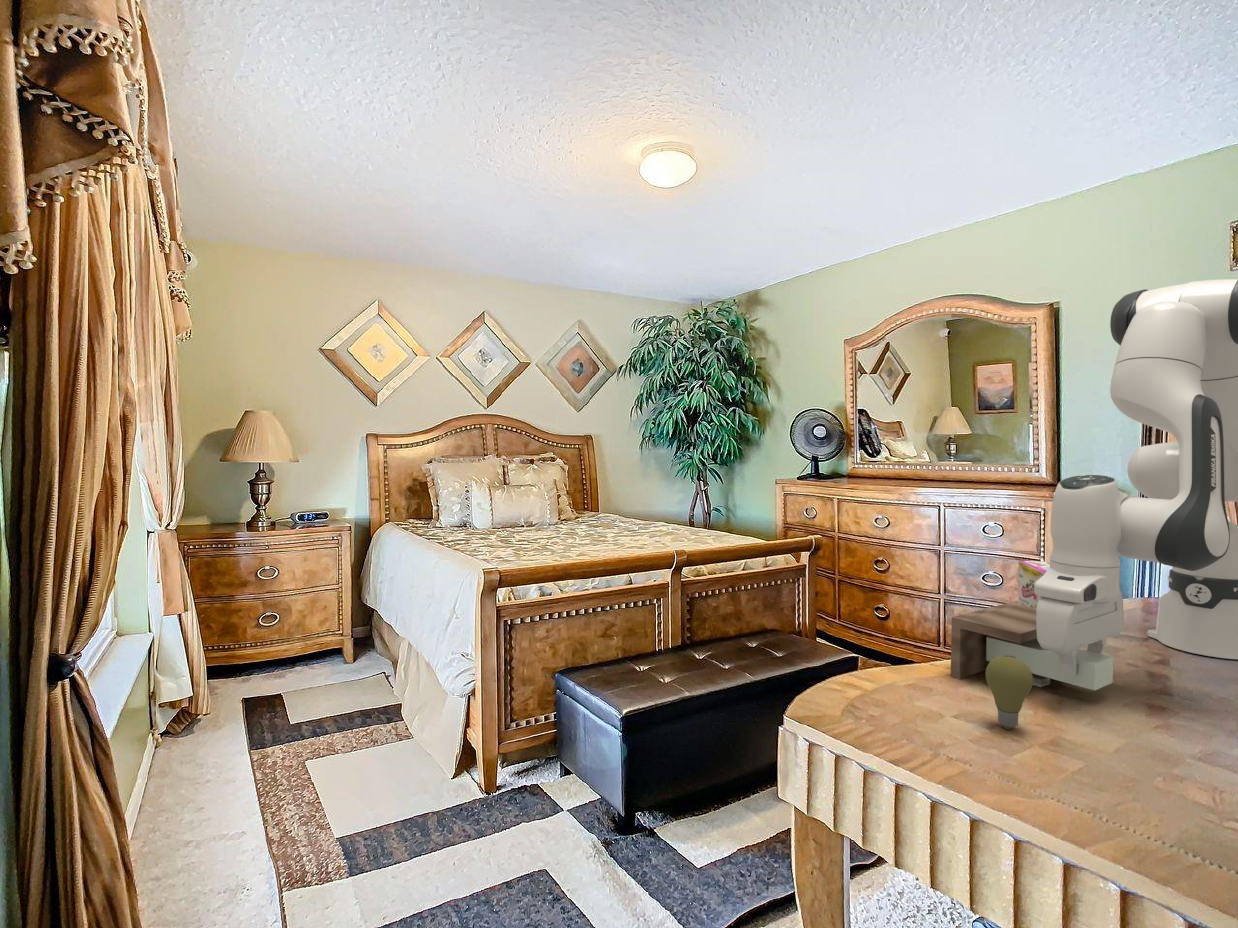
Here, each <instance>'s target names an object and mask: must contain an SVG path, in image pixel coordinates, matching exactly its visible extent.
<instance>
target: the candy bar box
mask: <svg viewBox="0 0 1238 928" xmlns="http://www.w3.org/2000/svg"><path fill="white" fill-rule="evenodd" d="M1048 568H1050V562H1047V561H1044V560H1043V561H1042V560H1019V561H1018V589H1017V590H1018V595H1017V597H1018V603H1017V604H1018V605H1023V606H1028V607H1033V608H1037V603H1038V600H1039V598H1040V597H1041V596H1037V595H1035V592H1034V586H1035V583H1036V581H1037V580H1039V579H1040V578H1041V577H1042V576H1043V575H1044V574H1045V573H1046V571H1047V569H1048Z"/></svg>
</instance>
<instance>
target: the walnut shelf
mask: <svg viewBox="0 0 1238 928" xmlns="http://www.w3.org/2000/svg"><path fill="white" fill-rule="evenodd" d="M1036 609H1037V608H1033V607H1028V606H1023V605H1018V603H1013V602H1007V603H1003V604H998V605H995V606H991V607H987V608H982V609H979V610H975V611H971V612H966V613H962V614H960V615H955V616H952V617H951V630H950V631H951V636H950V639H951V642H950V645H951V646H950V677H952V678H955V679H958V680H961V679H963V678H966V677H970V676H972V675H975V674H978V673H981V672H984V671H986V668H987V666H988V664H989V663H990V661H986V637H988V636H993V637H997V638H1001V639H1005V640H1009V641H1013V642H1016V643H1020V644H1021V643H1024V642H1027V641H1030V640H1033V639H1037V629H1036ZM1032 676H1033V685H1032V686H1035V685H1036V686H1035V687H1038V686H1039V688H1042V686H1043V687H1045V686H1047V684H1048V685H1050V684H1051V678H1047V677H1044V676H1040V675H1037V674H1033V673H1032ZM960 678H961V679H960Z"/></svg>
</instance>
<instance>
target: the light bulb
mask: <svg viewBox="0 0 1238 928" xmlns="http://www.w3.org/2000/svg"><path fill="white" fill-rule="evenodd" d="M1032 674H1033V673H1031V671H1030V669H1029V667H1028V666H1027V665H1026V664H1025V663H1024V662H1023V661H1021V660H1020V659H1018V658H1016V657H1014V656H1009V655H1002V656H998V657H996V658H994V659H993V660H991V661H990V663H989V664H988V666H987V668H986V670H985V680H986V683H987V685H988V687H989V689H990V691H991V693H992V696H993V699H994V703H995V706H996V708H997V722H998V723H999V724H1000V725H1001V726H1002V727H1003V728H1004V729H1006V730H1012V729H1014V728H1016V727H1018V726H1019V713H1020V711H1021V710H1022V707H1023V703H1024V701H1025V699H1026V698H1027V696H1028V695H1029V694H1030V691H1031V690H1032V688H1033V686H1034V685H1033V676H1032Z"/></svg>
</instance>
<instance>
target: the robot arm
mask: <svg viewBox="0 0 1238 928" xmlns="http://www.w3.org/2000/svg"><path fill="white" fill-rule="evenodd" d="M1109 326H1110V327H1109V328H1110V333H1111V336H1112V339H1113V340H1114V342H1115V343H1116V344H1117V345H1119V349H1118V352H1117V355H1116V359H1115V363H1114V367H1113V370H1112V377H1111V380H1110V386H1109V387H1110V389H1109V390H1110V392H1109V393H1110V398H1111V400H1112V402H1113V404H1114V405H1115V407H1116V408H1117V409H1118V410H1119V412H1121V413H1122V414H1123V415H1125V416H1126V417H1128V418H1129V419H1132V420H1133V421H1136V422H1138V423H1140V424H1142V425H1145V426H1149V427H1152V428H1155V429H1158V430H1160V431H1164V432H1167V433H1169V434H1171V435H1173V437H1174V438H1175V439H1176V441H1173V442H1172V441H1169V442H1168V441H1167V442H1161V443H1160V442H1159V443H1154V444H1148V445H1142V446H1141V447H1139V448H1138V449H1137V450H1136V451H1135V452H1133V454H1132V455H1131V457H1129V458H1130V459H1129V461H1128V464H1127V477H1128V479H1129V481H1130V483H1131V485H1132V487H1133V488H1135V489H1136V491H1137V492H1138V493H1140V494H1141V495H1143V496H1145V497H1141V496H1140V497H1138V496H1133V495H1129V494H1128V493H1125V492H1123V491H1121V490H1119V486H1118V482H1117V480H1116V479H1115V478H1114V477H1111V476H1108V475H1102V474H1101V475H1100V474H1085V475H1074V476H1070V477H1067V478H1064V479H1062V480H1060V481H1059V482H1058V483H1057V485H1056V488H1055V491H1054V494H1053V499H1052V505H1051V513H1050V534H1051V538H1052V543H1053V544H1052V551H1051V554H1050V557H1049V564H1050V568H1048V569H1047V571H1046V573H1045V574H1044V575H1043V576H1042V577H1041V578H1040V579H1039V580H1037V581H1036V583H1035V586H1034V592H1035V595H1037V596H1041V597H1040V598H1039V600H1038V603H1037V609H1036V629H1037V640H1038V642H1039V644H1040V646H1041V647H1042V648H1044V649H1047V650H1051V651H1055V652H1057V653H1058V656H1059V658H1060V661H1061V672H1062V673H1063V674H1064V675H1067V676H1071V677H1073V676H1075V675H1077V674H1078V673H1079V664H1077V663H1076V658H1075V655H1076V654H1077V649H1081V648H1083V647H1085V646H1087V651H1091V652H1096V653H1100V654H1104V651H1105V648H1106V645H1107V638H1110V637H1113V636H1116V635H1119V634H1121V633H1122V632H1123V628H1124V625H1125V613H1124V612H1125V610H1124V597H1123V593H1122V590H1120V589H1121V588H1120V587H1121V560H1120V557H1123V558H1128V559H1132V560H1139V561H1146V562H1152V563H1158V564H1162V565H1164V566H1168V567H1172V568H1171V569H1170V570H1169V571H1168V572H1169V575H1168V577H1167V580H1168V588H1169V591H1168V592H1166V593H1164V594H1163V595H1161V596H1160V597H1159V599H1158V608H1157V616H1156V625H1155V626H1156V628H1154V629H1153V628H1152V629H1148V630H1147V632H1146V636H1147V637H1150V638H1153V639H1154V640H1158V641H1159V642H1160V643H1161V644H1163V645H1164V646H1168V647H1171V648H1173V649H1176V650H1179V651H1183V652H1187V653H1192V654H1195V655H1196V654H1197V655H1200V656H1201V655H1202V656H1207V657H1213V658H1219V659H1227V660H1228V659H1229V660H1238V525H1237V524H1236V523H1234V522H1231V521H1229V519H1228V514H1227V513H1228V512H1227V510H1226V502H1236V503H1238V278H1223V279H1222V278H1221V279H1220V278H1218V279H1204V280H1195V281H1189V282H1187V283H1180V284H1173V285H1167V286H1162V287H1158V288H1153V289H1150V290H1149V289H1141V290H1136V291H1132V292H1130V293H1128V294H1125V295H1123V296H1122V297H1121V298H1120V299H1119V300H1118V301H1117V302H1116V303H1115V305H1114V306H1113V308H1112V311H1111V314H1110V325H1109Z"/></svg>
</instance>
